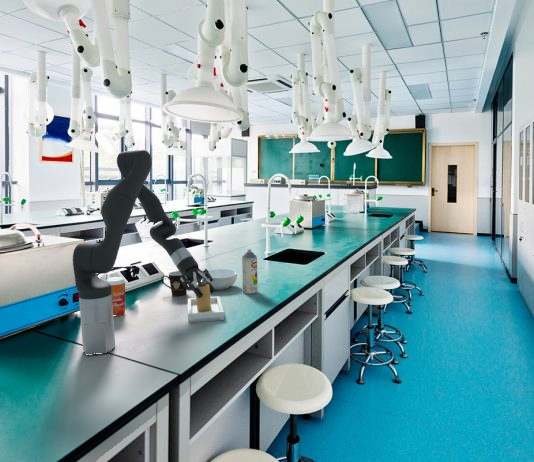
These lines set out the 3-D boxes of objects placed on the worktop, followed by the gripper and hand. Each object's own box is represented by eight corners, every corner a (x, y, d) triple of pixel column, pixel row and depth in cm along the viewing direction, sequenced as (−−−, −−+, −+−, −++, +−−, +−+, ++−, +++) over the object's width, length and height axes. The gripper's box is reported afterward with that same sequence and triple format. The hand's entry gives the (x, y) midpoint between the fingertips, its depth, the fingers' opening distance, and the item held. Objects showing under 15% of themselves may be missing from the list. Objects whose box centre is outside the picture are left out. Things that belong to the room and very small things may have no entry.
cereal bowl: (194, 289, 188) (194, 275, 187) (215, 281, 203) (214, 267, 202) (224, 294, 180) (224, 278, 179) (243, 285, 195) (243, 271, 194)
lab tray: (223, 319, 147) (223, 311, 147) (188, 322, 145) (187, 314, 144) (219, 303, 167) (219, 296, 166) (188, 305, 164) (187, 298, 164)
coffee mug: (192, 293, 182) (192, 272, 180) (179, 298, 174) (178, 276, 173) (174, 290, 187) (173, 269, 186) (160, 294, 180) (159, 273, 179)
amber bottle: (212, 310, 154) (209, 282, 152) (197, 312, 152) (194, 284, 151) (210, 306, 159) (208, 279, 158) (197, 308, 158) (194, 281, 156)
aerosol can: (253, 295, 178) (253, 251, 175) (240, 293, 181) (239, 250, 178) (260, 291, 184) (259, 248, 181) (246, 289, 187) (245, 247, 184)
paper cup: (105, 318, 151) (103, 282, 149) (108, 311, 158) (105, 277, 156) (127, 316, 153) (125, 280, 151) (128, 309, 160) (126, 275, 158)
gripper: (175, 258, 151) (199, 293, 146) (201, 252, 163) (224, 284, 158) (166, 270, 155) (189, 305, 150) (192, 264, 167) (214, 295, 162)
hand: (207, 294), depth 154 cm, fingers open, 6 cm apart
